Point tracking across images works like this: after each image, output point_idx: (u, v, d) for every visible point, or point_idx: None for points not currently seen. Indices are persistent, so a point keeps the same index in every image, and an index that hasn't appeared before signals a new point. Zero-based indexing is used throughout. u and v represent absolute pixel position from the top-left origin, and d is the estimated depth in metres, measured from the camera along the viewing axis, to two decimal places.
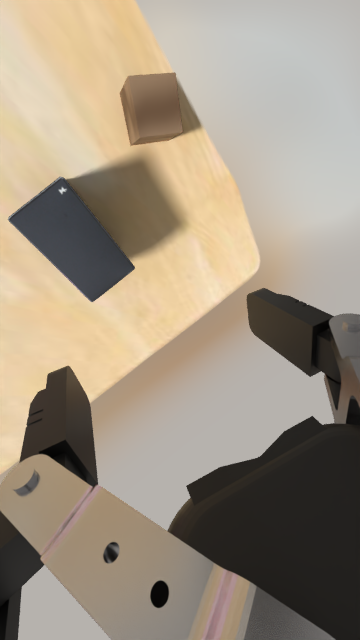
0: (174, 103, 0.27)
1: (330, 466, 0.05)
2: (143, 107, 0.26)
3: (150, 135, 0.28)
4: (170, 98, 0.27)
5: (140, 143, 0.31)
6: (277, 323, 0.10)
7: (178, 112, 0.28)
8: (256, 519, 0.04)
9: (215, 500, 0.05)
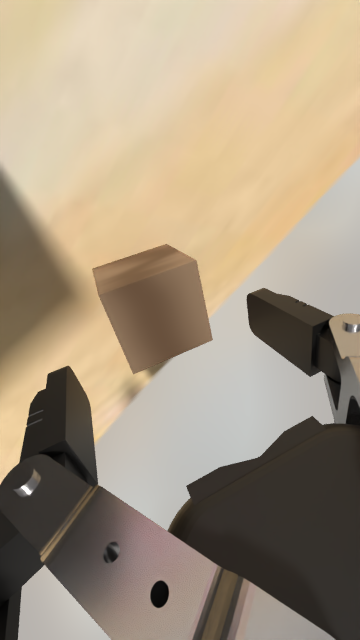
0: (172, 348, 0.15)
1: (330, 466, 0.05)
2: (154, 295, 0.13)
3: (109, 316, 0.12)
4: (178, 340, 0.14)
5: None
6: (277, 323, 0.10)
7: (161, 358, 0.15)
8: (256, 519, 0.04)
9: (215, 500, 0.05)
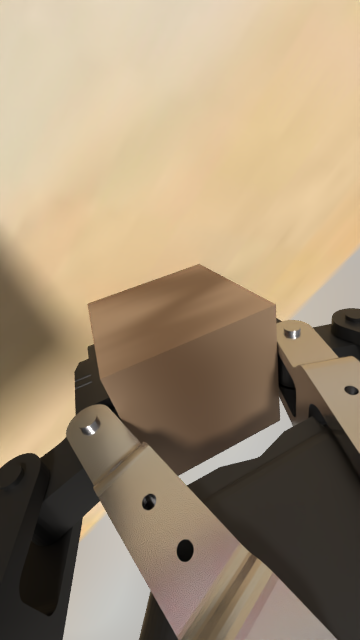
0: (221, 442, 0.09)
1: (330, 466, 0.05)
2: (200, 367, 0.07)
3: (120, 411, 0.07)
4: (230, 429, 0.09)
5: None
6: None
7: (202, 458, 0.09)
8: (256, 519, 0.04)
9: (215, 500, 0.05)
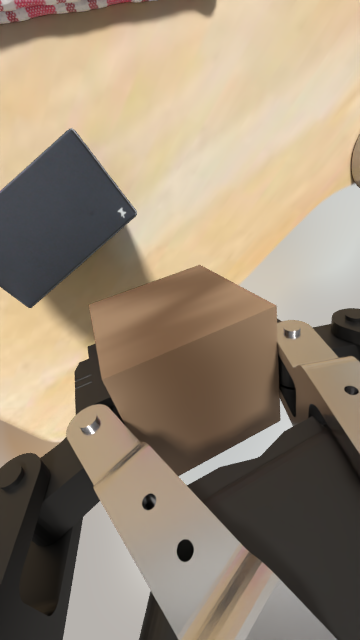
0: (221, 442, 0.09)
1: (330, 466, 0.05)
2: (202, 368, 0.07)
3: (121, 411, 0.07)
4: (231, 429, 0.09)
5: None
6: None
7: (202, 458, 0.09)
8: (256, 519, 0.04)
9: (215, 500, 0.05)
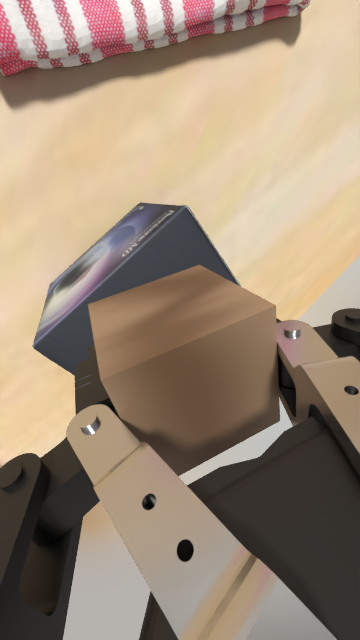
0: (221, 442, 0.09)
1: (330, 466, 0.05)
2: (201, 367, 0.07)
3: (120, 411, 0.07)
4: (230, 429, 0.09)
5: None
6: None
7: (202, 458, 0.09)
8: (256, 519, 0.04)
9: (215, 500, 0.05)
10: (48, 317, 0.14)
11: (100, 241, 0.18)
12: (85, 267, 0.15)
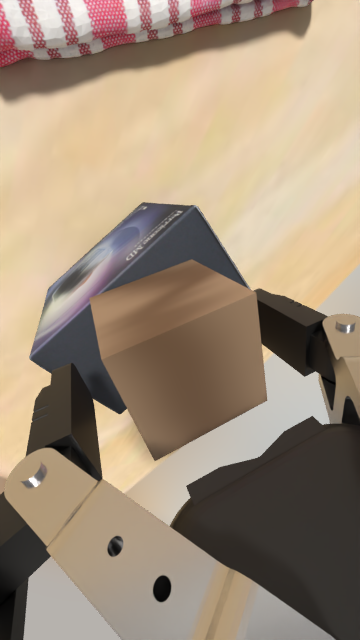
0: (212, 419, 0.10)
1: (330, 466, 0.05)
2: (190, 350, 0.08)
3: (119, 388, 0.08)
4: (220, 407, 0.10)
5: None
6: (272, 323, 0.10)
7: (195, 434, 0.10)
8: (256, 519, 0.04)
9: (215, 500, 0.05)
10: (46, 325, 0.13)
11: (101, 243, 0.17)
12: (86, 271, 0.14)
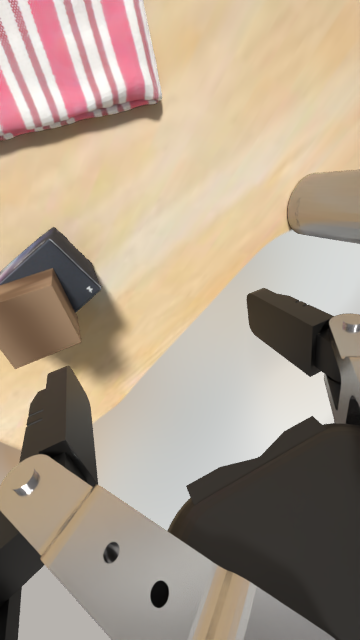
0: (46, 349, 0.19)
1: (330, 466, 0.05)
2: (20, 310, 0.18)
3: None
4: (49, 343, 0.19)
5: None
6: (277, 323, 0.10)
7: (38, 357, 0.19)
8: (256, 519, 0.04)
9: (215, 500, 0.05)
10: None
11: None
12: None
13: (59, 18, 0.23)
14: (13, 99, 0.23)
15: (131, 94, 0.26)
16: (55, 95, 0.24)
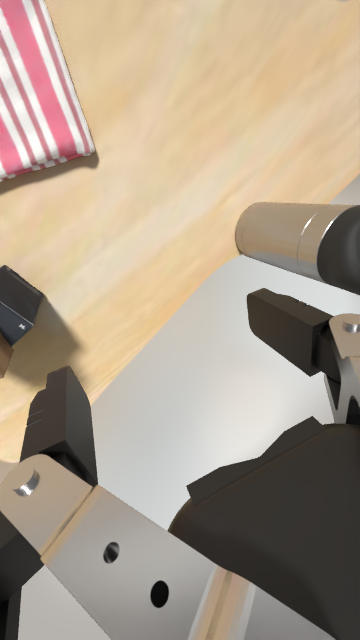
0: None
1: (330, 466, 0.05)
2: None
3: None
4: None
5: None
6: (277, 323, 0.10)
7: None
8: (256, 519, 0.04)
9: (215, 500, 0.05)
10: None
11: None
12: None
13: None
14: None
15: (63, 151, 0.29)
16: None
